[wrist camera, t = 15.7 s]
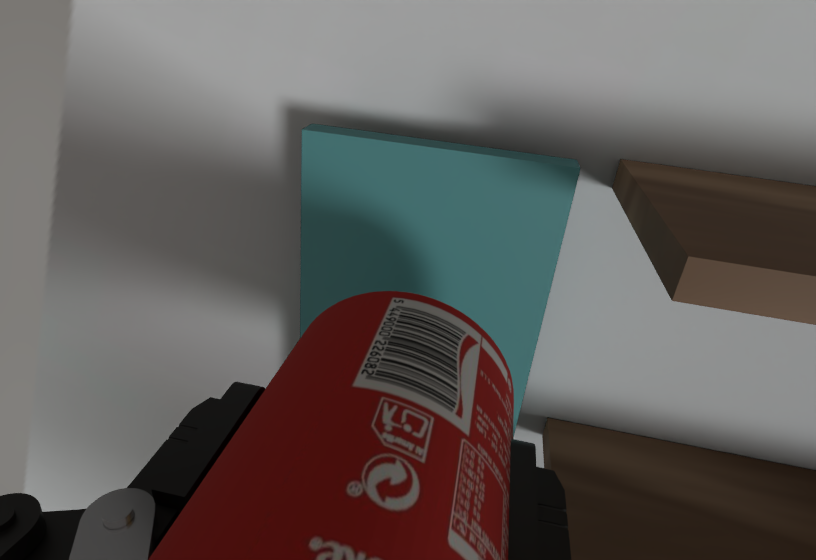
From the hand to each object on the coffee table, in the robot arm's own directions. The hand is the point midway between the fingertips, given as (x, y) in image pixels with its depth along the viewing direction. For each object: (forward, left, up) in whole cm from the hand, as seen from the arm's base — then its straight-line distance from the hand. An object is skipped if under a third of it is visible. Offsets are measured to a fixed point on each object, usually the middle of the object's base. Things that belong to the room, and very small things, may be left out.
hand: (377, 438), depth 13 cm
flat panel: (0, -4, -7) cm, 9 cm away
